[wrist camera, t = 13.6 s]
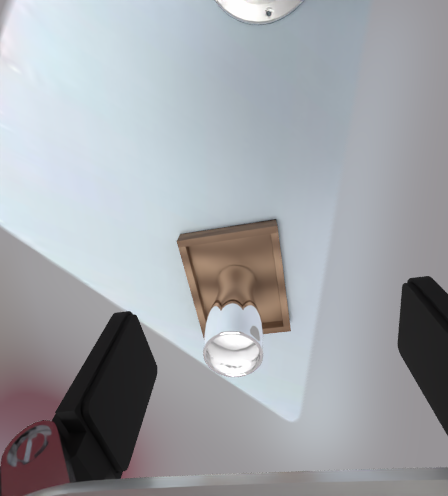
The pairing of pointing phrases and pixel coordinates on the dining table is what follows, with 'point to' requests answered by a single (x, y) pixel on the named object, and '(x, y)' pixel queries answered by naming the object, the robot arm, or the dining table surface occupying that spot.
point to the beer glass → (234, 325)
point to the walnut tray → (241, 254)
